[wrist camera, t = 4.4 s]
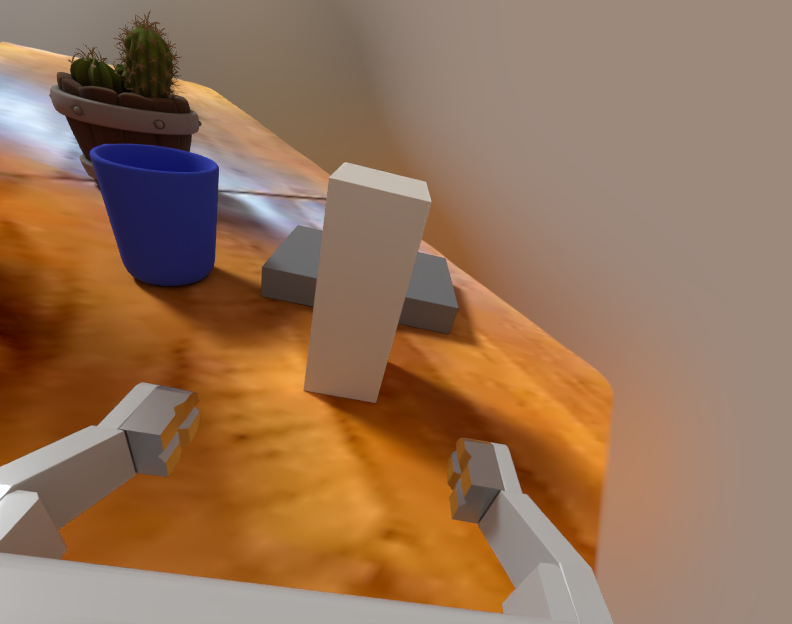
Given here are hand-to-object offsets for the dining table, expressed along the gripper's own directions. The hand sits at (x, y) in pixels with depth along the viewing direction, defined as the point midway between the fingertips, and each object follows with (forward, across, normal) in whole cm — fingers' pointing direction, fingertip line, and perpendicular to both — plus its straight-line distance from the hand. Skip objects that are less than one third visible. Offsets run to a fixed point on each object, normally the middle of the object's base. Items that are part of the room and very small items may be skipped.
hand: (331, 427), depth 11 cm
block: (+12, 0, -9) cm, 15 cm away
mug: (+22, -19, -9) cm, 31 cm away
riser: (+26, 0, -9) cm, 28 cm away
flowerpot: (+42, -33, -9) cm, 54 cm away
